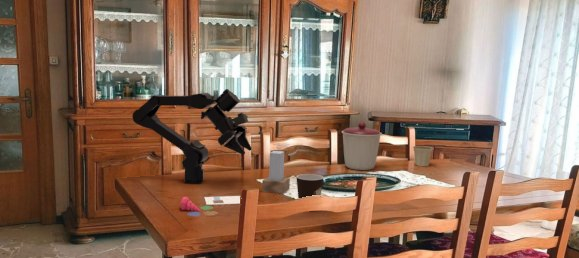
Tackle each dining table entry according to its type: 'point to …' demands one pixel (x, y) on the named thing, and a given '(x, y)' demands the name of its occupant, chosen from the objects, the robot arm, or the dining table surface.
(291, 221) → the dining table surface
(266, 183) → the base block
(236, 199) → the page
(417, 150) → the flower pot
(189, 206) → the toy pieces
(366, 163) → the canister
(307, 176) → the coffee mug
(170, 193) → the dining table surface
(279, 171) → the tall brick
